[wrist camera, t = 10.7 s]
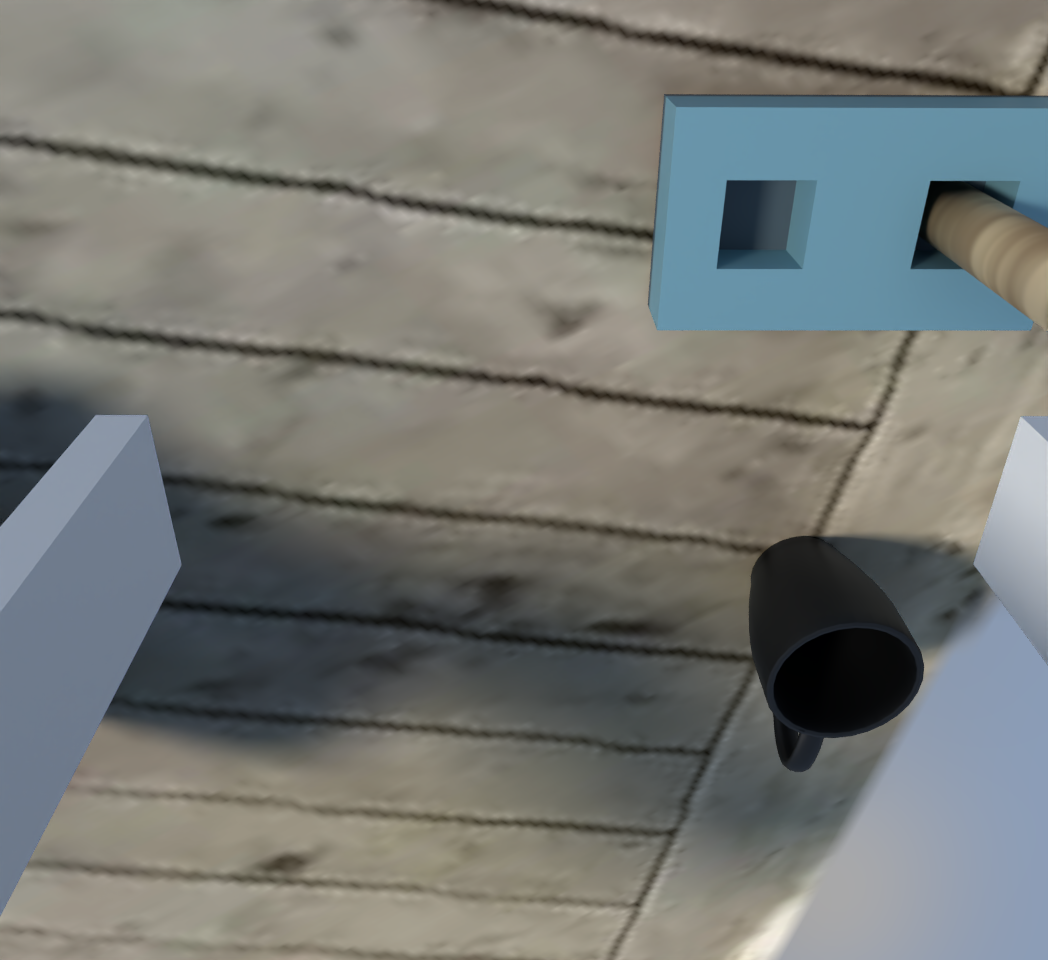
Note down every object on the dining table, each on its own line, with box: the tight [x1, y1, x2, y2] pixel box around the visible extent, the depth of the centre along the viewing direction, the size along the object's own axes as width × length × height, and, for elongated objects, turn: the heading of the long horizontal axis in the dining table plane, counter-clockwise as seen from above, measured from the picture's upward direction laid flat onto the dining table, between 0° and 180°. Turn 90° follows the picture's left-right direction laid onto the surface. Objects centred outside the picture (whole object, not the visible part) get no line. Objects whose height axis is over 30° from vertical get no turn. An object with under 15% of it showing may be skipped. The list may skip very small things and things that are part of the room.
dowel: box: [918, 181, 1048, 332], centre depth 38 cm, size 3×3×14 cm
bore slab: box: [648, 94, 1048, 330], centre depth 43 cm, size 18×10×4 cm, turn 90°
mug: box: [749, 537, 924, 772], centre depth 53 cm, size 8×12×10 cm
